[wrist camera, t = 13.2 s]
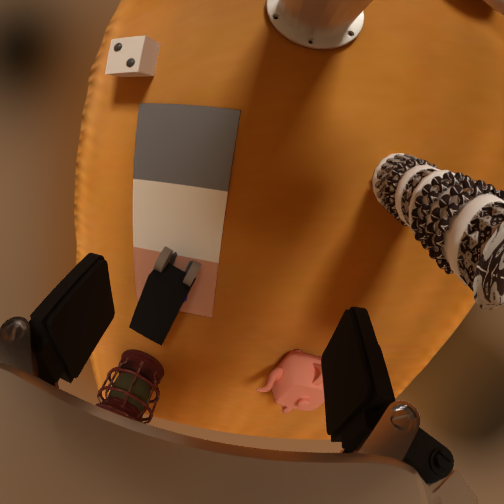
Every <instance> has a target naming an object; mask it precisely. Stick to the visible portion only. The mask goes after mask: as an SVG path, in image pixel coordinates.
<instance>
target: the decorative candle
mask: <svg viewBox="0 0 504 504" xmlns="http://www.w3.org/2000/svg"><path fill="white" fill-rule="evenodd" d="M372 184H373V192H374V194H375V196H376V198H377V200H378V202H379V203H381V205H382V206H384V207H385V209H386V210H388V212H390V213H391V214H392V215H393V216H395V218H396V219H397V220H398V221H401V223H402V225H404V226H407V225H408V226H409V227H410V228H411V229H412V231H413V234H414V235H415V239H416V240H417V241H421V244H422V246H423V248H425V249H429V256H430V257H431V258H432V259H436V262H437V264H438V266H439V267H440V268H441V269H445V272H446V273H447V274H452V273H455V274H456V275H457V276H458V278H459V279H460V280H461V281H462V282H463V283H464V284H465V285H466V286H469V287H470V288H471V290H472V291H473V292H474V299H475V301H476V302H477V304H478V305H479V306H480V307H481V309H488V310H494V309H496V308H498V307H504V191H502V190H497V191H496V190H495V188H494V186H493V185H491V184H488V185H486V184H485V182H484V181H482V180H478V181H473V180H472V179H471V178H470V177H469V176H467V175H466V176H464V175H463V174H462V173H459V172H458V173H456V174H455V173H452V172H451V171H448V170H439V169H437V167H436V165H434V164H432V165H430V163H429V162H427V161H425V160H422V159H419V158H416V157H414V156H410V155H408V154H403V153H396V154H390V155H389V156H387V157H385V158H384V159H382V160H381V161H380V163H379V164H378V165H377V167H376V168H375V171H374V175H373V179H372ZM489 193H490V194H489ZM443 258H445V259H443Z"/></svg>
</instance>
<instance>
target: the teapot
mask: <svg viewBox="0 0 504 504" xmlns="http://www.w3.org/2000/svg"><path fill="white" fill-rule="evenodd" d="M321 358H322V356H315V355H311V354H307V353H303V352H302V350H300V349H295V350H293V351H291V352H289V353H288V354H287V355H286V356H285V357H284V358H283V359H282V361H281V362H280V363H279V364H278V366H277V367H276V368H275V369H273V370H272V371H271V372H270V373H269V375H268V377H267V381H266V384H265V386H264V387H262V388H258V389H256V390H257V391H259V392H268V391H270V390H271V389H272V393H273V396H274V400H275V402H276V403H277V404H280V405H282V411H283V413H289V412H290V411H292V410H293V409H298V410H305V411H313V410H315V409H316V408H318V407H319V406H320V405H322V404H323V403H324V402H325V400H324V388H323V378H322V368H321Z"/></svg>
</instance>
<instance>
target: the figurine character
mask: <svg viewBox="0 0 504 504" xmlns="http://www.w3.org/2000/svg"><path fill="white" fill-rule="evenodd" d="M176 257H177V253H176V252H174V253H173V250H171V249H170V248H168V247H166V246H165V247H164V248H163V250H162V251H161V253H160V254H159V256H158V258H157V260H156V263H155V265H154V269H153V270H152V272H151V273H150V274H149V275H148V278H147V280H146V283H145V285H144V288H143V291H142V293H141V296H140V298H139V301H138V304H137V307H136V309H135V312H134V315H133V318H132V321H131V324H130V326H129V328H131V329H133V330H135V331H136V332H138V333H140V334H142V335H143V336H145V337H147V338H149V339H150V340H152V341H154V342H156V343H158V344H160V345H161V346H162V344H163V342H164V340H165V338H166V336H167V334H168V332H169V330H170V328H171V326H172V324H173V322H174V320H175V318H176V316H177V314H178V312H179V310H180V308H181V306H182V305H183V303H184V302H185V301H186V300H187V297H188V293H189V291H190V289H191V287H192V285H193V284H194V282H195V280H196V278H195V276H196V274H197V273H198V271H199V269H200V267H201V265H202V264H201V263H199V262H197V261H195V260H194V262H193V260H192V261H190V262H189V264H188V266H187V268H186V270H185V272H184V271H182V270H181V269H179V268H177V267H175V266H173V264H174V261H175V259H176ZM168 262H169V263H168Z"/></svg>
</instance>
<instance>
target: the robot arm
mask: <svg viewBox="0 0 504 504" xmlns="http://www.w3.org/2000/svg"><path fill="white" fill-rule="evenodd" d="M372 1H373V0H267V4H266V8H267V14H268V17H269V19H270V21H271V23H272V25H273V26H274V27H275V28H276V30H277V31H278V32H279V33H280V34H282V35H283V36H284V37H285V38H287V39H289V40H290V41H292V42H294V43H296V44H299V45H301V46H304V47H308V48H312V49H321V50H322V49H334V48H339V47H341V46H344V45H346V44H348V43H349V42H351V41H352V40H354V39H355V38H356V37H357V36H358V34H359V33H360V32H361V30H362V27H363V25H364V11H363V10H364V9H365V8H366V7H367V6H368V5H369V4H370V3H371V2H372ZM483 1H485V2H486V3H487V4H488V5H489V6H491V7H492V8H494V9H495V10H496V11H498V12H500V13H501V14H503V15H504V0H483ZM275 17H277V18H278V19H274V18H275ZM348 34H350V35H351V36H349V35H348ZM309 41H311V42H312V44H310V43H308V42H309ZM114 314H115V310H114V304H113V298H112V292H111V286H110V279H109V272H108V264H107V261H106V260H104V257H103V256H101V255H97V254H94V253H89V254H88V255H87V256H86V257H85V258H84V259H83V260H82V261H80V262H79V263H78V264H77V265H76V266H75V268H73V269H72V271H71V272H70V273H69V274H68V275H67V276H66V277H65V278H64V279H63V280H62V281H61V282H60V283H59V284H58V285H57V286H56V288H54V289H53V290H52V292H51V293H50V294H49V295H48V296H47V297H46V298H45V299H44V300H43V301H42V303H41V304H40V305H39V306H38V307H37V308H36V309H35V311H34V312H33V313H32V314H31V315H30V317H31V320H30V321H29V322H28V321H27V319H25V318H24V317H19V316H18V317H13V318H10V319H8V320H7V321H5V322H4V323H3V324H2V326H1V328H0V504H478V502H477V501H478V500H477V497H476V495H475V493H474V492H473V490H472V489H471V488H470V486H469V485H468V483H467V482H466V481H465V479H464V478H463V477H462V475H461V474H460V472H459V471H458V470H457V469H455V470H453V466H454V464H453V463H454V460H453V455H452V454H451V452H450V451H449V450H448V449H447V448H446V447H445V446H444V445H442V444H441V443H440V442H438V441H437V440H435V439H434V438H433V437H431V436H430V435H429V434H427V433H426V432H425V431H423V430H422V429H421V428H420V427H419V426H420V416H419V413H418V411H417V409H416V408H415V407H414V406H413V405H412V404H411V403H408V402H406V401H401V400H400V401H395V397H394V393H393V389H392V386H391V382H390V378H389V375H388V371H387V368H386V364H385V361H384V357H383V354H382V351H381V348H380V346H379V345H378V342H377V339H376V336H375V333H374V329H373V326H372V323H371V320H370V317H369V315H368V312H367V310H366V309H365V308H359V307H351V308H350V309H349V310H345V312H344V314H343V316H342V318H341V320H340V322H339V324H338V326H337V328H336V330H335V332H334V334H333V336H332V338H331V339H330V341H329V343H328V345H327V347H326V349H325V351H324V353H323V355H322V358H321V368H322V378H323V388H324V400H325V412H326V427H327V434H328V435H331V442H342V448H343V449H342V450H341V452H340V453H312V452H293V451H279V450H268V449H259V448H251V447H244V446H237V445H231V444H225V443H220V442H214V441H209V440H204V439H199V438H195V437H191V436H187V435H182V434H179V433H175V432H171V431H167V430H164V429H160V428H157V427H154V426H150V425H147V424H144V423H141V422H138V421H135V420H132V419H129V418H127V417H124V416H121V415H118V414H116V413H113V412H110V411H108V410H105V409H103V408H100V407H98V406H96V405H93V404H91V403H89V402H86V401H84V400H82V399H80V398H78V397H76V396H73V395H71V394H69V393H67V392H65V391H63V390H61V389H59V386H58V380H59V379H60V378H61V379H64V380H65V381H67V382H69V383H71V382H72V381H73V379H74V378H77V377H78V375H79V374H80V372H81V370H82V369H83V367H84V365H85V364H86V362H87V360H88V359H89V357H90V355H91V354H92V352H93V350H94V349H95V347H96V345H97V344H98V342H99V340H100V339H101V337H102V335H103V334H104V332H105V331H106V329H107V327H108V326H109V324H110V323H111V321H112V320H113V318H114Z"/></svg>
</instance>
